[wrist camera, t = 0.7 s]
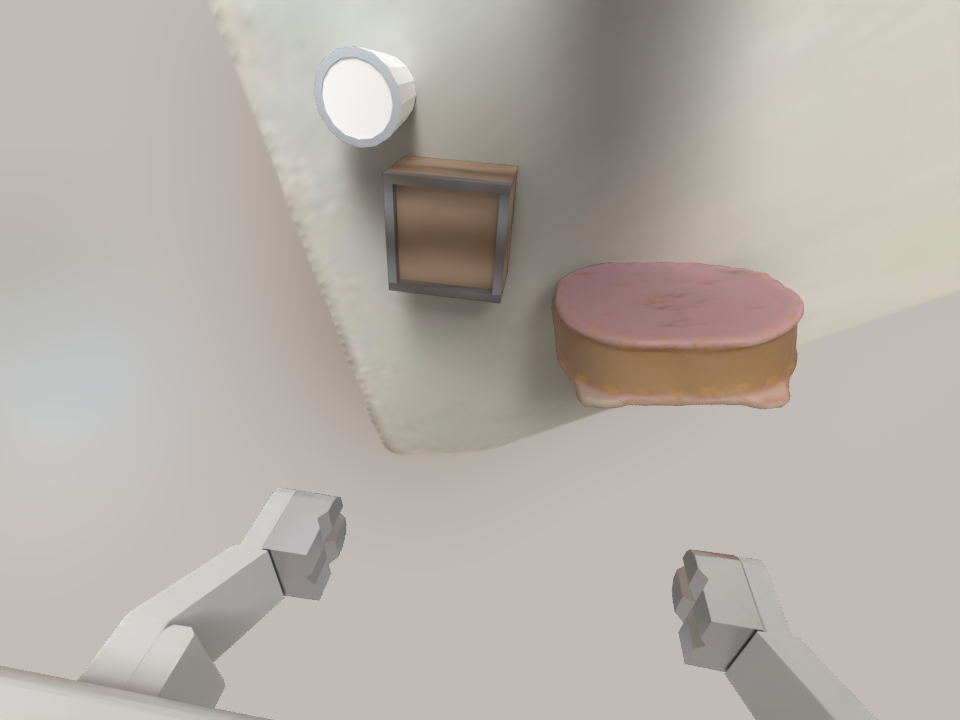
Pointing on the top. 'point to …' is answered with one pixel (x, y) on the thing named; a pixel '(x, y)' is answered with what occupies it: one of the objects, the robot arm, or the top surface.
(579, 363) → the face sculpture
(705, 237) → the top surface
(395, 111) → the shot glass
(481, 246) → the wooden box
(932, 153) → the top surface
